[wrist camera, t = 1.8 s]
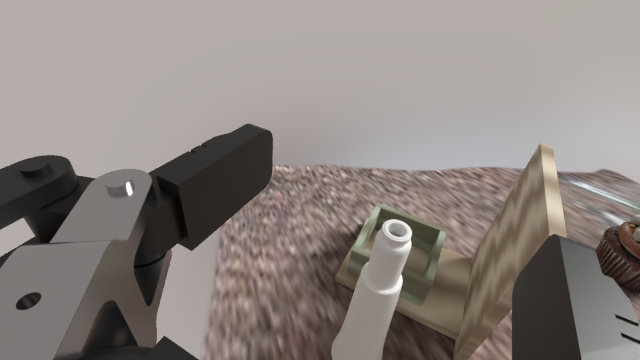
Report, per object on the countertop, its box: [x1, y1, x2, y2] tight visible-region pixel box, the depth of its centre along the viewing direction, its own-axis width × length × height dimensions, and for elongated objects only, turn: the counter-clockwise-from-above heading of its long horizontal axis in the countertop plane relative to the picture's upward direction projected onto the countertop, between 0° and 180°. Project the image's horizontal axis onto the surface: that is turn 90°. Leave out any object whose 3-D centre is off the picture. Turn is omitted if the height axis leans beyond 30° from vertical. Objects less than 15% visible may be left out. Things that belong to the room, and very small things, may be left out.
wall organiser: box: [335, 143, 567, 360], centre depth 38 cm, size 16×18×22 cm
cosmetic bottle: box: [331, 219, 412, 360], centre depth 30 cm, size 6×6×22 cm
